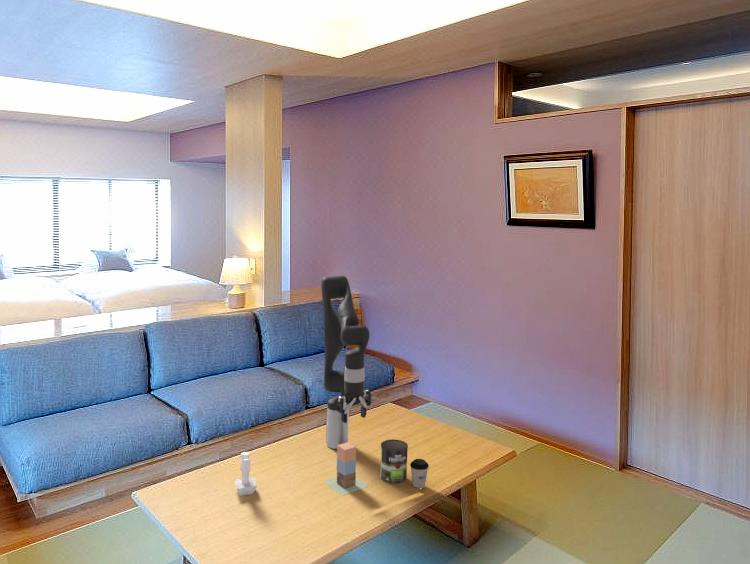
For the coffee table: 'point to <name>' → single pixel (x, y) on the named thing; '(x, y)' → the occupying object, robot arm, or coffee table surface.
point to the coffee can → (393, 461)
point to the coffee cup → (419, 472)
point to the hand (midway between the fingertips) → (354, 419)
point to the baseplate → (343, 491)
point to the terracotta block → (346, 452)
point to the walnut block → (346, 480)
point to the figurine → (245, 477)
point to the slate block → (346, 467)
